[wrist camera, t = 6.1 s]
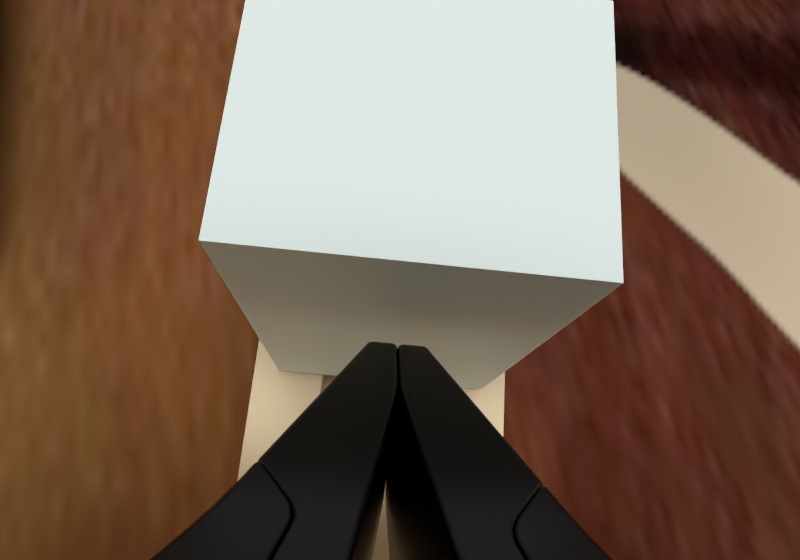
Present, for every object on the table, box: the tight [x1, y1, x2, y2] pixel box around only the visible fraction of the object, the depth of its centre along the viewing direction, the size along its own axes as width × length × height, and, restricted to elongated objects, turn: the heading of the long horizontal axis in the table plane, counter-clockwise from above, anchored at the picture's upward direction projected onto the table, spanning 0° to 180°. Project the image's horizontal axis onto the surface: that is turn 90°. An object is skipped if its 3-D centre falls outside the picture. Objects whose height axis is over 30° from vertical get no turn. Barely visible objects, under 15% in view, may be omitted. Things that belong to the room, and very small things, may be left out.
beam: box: [237, 339, 505, 560], centre depth 17 cm, size 20×6×3 cm, turn 176°
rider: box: [199, 0, 623, 389], centre depth 12 cm, size 4×5×10 cm
